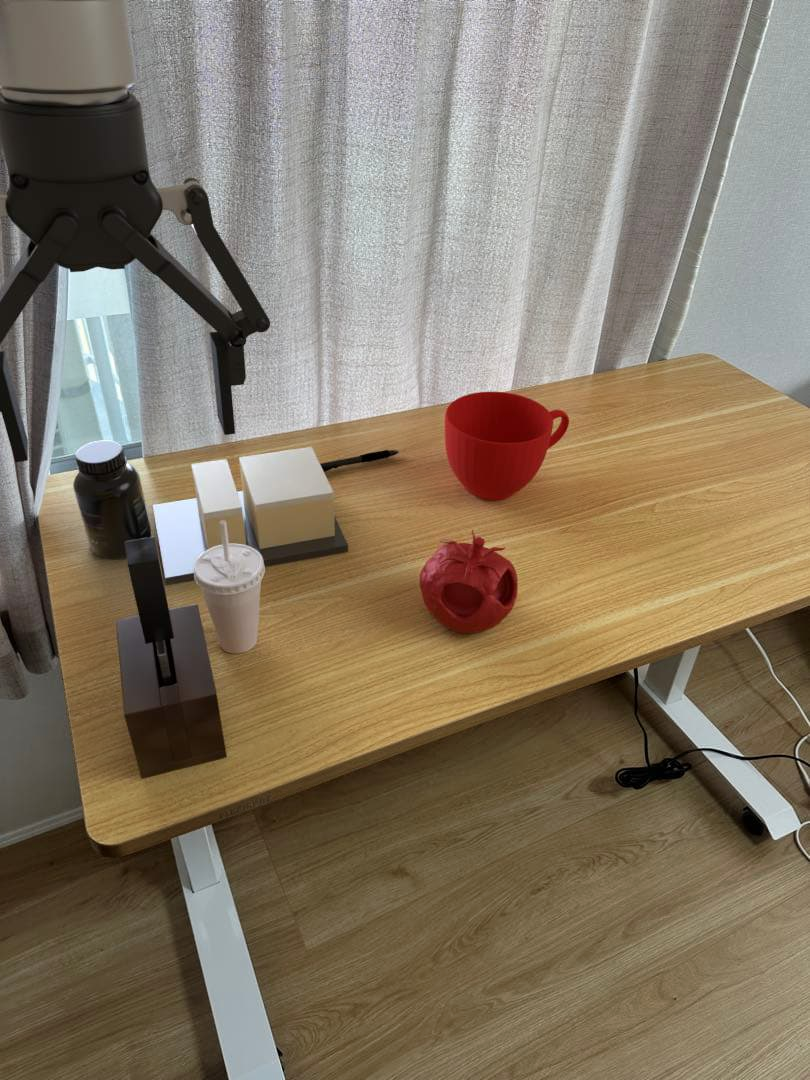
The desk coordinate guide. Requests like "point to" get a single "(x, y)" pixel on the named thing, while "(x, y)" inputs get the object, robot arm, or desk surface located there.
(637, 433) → the desk surface
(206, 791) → the desk surface
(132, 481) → the supplement bottle
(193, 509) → the cake board
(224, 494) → the cream rectangular block
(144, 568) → the knife
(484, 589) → the pomegranate
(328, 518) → the cake
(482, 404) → the ceramic cup
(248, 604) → the smoothie
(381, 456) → the pen
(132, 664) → the knife block
